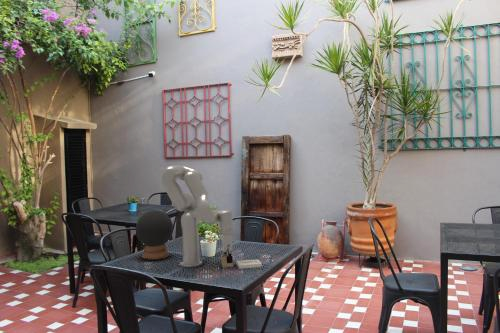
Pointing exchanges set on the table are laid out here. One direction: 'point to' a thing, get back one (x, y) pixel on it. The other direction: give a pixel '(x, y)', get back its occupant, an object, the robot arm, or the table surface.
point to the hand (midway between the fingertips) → (228, 261)
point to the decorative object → (154, 234)
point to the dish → (248, 264)
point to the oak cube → (225, 261)
